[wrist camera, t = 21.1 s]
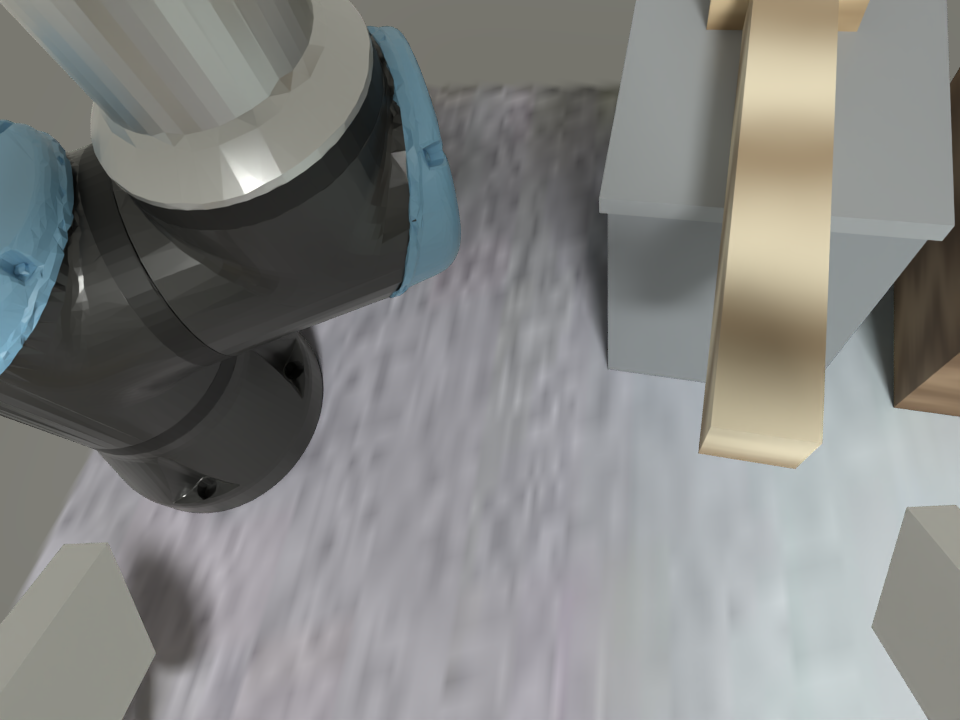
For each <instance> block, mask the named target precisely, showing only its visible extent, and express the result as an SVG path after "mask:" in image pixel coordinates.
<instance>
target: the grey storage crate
mask: <svg viewBox="0 0 960 720" xmlns="http://www.w3.org/2000/svg"><path fill="white" fill-rule="evenodd" d="M709 6H710V0H636V4H635V9H634V14H633V19H632V26H631V30H630V36H629V41H628V46H627V51H626V57H625V62H624V67H623V73H622V78H621V84H620V89H619V94H618V100H617V105H616V110H615V116H614V121H613V126H612V132H611V137H610V142H609V148H608V153H607V158H606V164H605V169H604V174H603V180H602V185H601V190H600V196H599V213H606V214H608V369H611V370H618V371H625V372H633V373H640V374H647V375H654V376H662V377H669V378H676V379H683V380H690V381H698V382H705V383H706V375H707V366H708V356H709V347H710V337H711V328H712V318H713V309H714V299H715V289H716V280H717V270H718V261H719V251H720V242H721V232H722V222H723V213H724V203H725V194H726V184H727V175H728V165H729V155H730V146H731V136H732V127H733V117H734V108H735V98H736V89H737V79H738V69H739V60H740V50H741V41H742V31H743V30H706V29H707V21H708V13H709ZM947 20H948V18H947V0H870V1H869V3H868V6H867V8H866V11H865V13H864V16H863V18H862V21H861V23H860V26H859V28H858V30H857V32H843V31H838V40H837V66H836V93H835V119H834V146H833V172H832V199H831V225H830V252H829V278H828V305H827V331H826V358H825V369H826V368H827V367H828V365H829V364H830V363H831V362H832V360H833V359H834V358H835V357H836V355H837V354H838V353H839V352H840V350H841V349H842V348H843V346H844V345H845V344H846V343H847V341H848V340H849V339H850V338H851V336H852V335H853V334H854V333H855V331H856V330H857V329H858V327H859V326H860V325H861V324H862V322H863V321H864V320H865V319H866V317H867V316H868V315H869V314H870V312H871V311H872V310H873V308H874V307H875V306H876V305H877V303H878V302H879V301H880V300H881V298H882V297H883V296H884V295H885V293H886V292H887V291H888V289H889V288H890V287H891V286H892V284H893V283H894V282H895V281H896V279H897V278H898V277H899V276H900V274H901V273H902V272H903V271H904V269H905V268H906V267H907V265H908V264H909V263H910V262H911V260H912V259H913V258H914V257H915V255H916V254H917V253H918V252H919V250H920V249H921V248H922V246H923V245H924V244H925V243H926V241H927V240H935V241H943V239H944V238H945V237H946V236H947V235H948V233H949V232H950V231H951V230H952V228H953V227H954V226H955V217H954V188H953V160H952V132H951V103H950V75H949V47H948V21H947Z"/></svg>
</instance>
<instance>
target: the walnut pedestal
mask: <svg viewBox="0 0 960 720" xmlns="http://www.w3.org/2000/svg"><path fill="white" fill-rule="evenodd" d="M950 103H951V132H952V160H953V188H954V217H955V226H954V227H953V228H952V230H951V231H950V232H949V233H948V235H947V236H946V237H945V238H944V239H943V241H935V240H927V241H926V243H925V244H924V245H923V246H922V248H921V249H920V250H919V252H918V253H917V254H916V255H915V257H914V258H913V259H912V260H911V262H910V263H909V264H908V265H907V267H906V268H905V269H904V271H903V272H902V273H901V274H900V276H899V277H898V278H897V279H896V281H895V282H894V408H902V409H909V410H916V411H923V412H931V413H938V414H945V415H952V416H960V68H959V70H958V72H957V73H956V75H955V77H954V78H953V80H952V81H951V83H950Z"/></svg>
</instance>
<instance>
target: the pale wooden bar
mask: <svg viewBox="0 0 960 720" xmlns="http://www.w3.org/2000/svg"><path fill="white" fill-rule="evenodd" d="M869 1H870V0H710V6H709V13H708V21H707V29H706V30H743V31H742V41H741V50H740V60H739V69H738V79H737V89H736V98H735V108H734V117H733V127H732V136H731V146H730V155H729V165H728V175H727V184H726V194H725V203H724V213H723V222H722V232H721V242H720V251H719V261H718V270H717V280H716V289H715V299H714V309H713V318H712V328H711V337H710V347H709V356H708V366H707V375H706V385H705V395H704V404H703V414H702V423H701V433H700V442H699V452H698V453H700V454H706V455H712V456H718V457H725V458H731V459H737V460H743V461H750V462H756V463H762V464H768V465H774V466H781V467H787V468H793V469H796V468H797V467H798V466H799V465H800V464H801V463H802V462H803V461H804V460H805V459H806V458H807V457H808V456H809V455H811V454H812V453H813V452H814V451H815V450H816V449H817V448H818V447H819V446H820V445H821V444H822V437H823V411H824V384H825V358H826V331H827V305H828V278H829V252H830V225H831V199H832V172H833V146H834V119H835V93H836V66H837V40H838V31H843V32H857V30H858V28H859V26H860V23H861V21H862V18H863V16H864V13H865V11H866V8H867V6H868V3H869Z"/></svg>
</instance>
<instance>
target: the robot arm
mask: <svg viewBox="0 0 960 720" xmlns="http://www.w3.org/2000/svg"><path fill="white" fill-rule="evenodd" d="M0 3H1V4H2V5H3V6H4V7H5V8H6V9H7V11H9V13H11V15H12V16H13V17H14V18H15V19H16V20H17V21H18V22H19V23H20V24H21V25H22V26H23V27H24V28H25V29H26V30H27V32H28V33H29V34H30V35H31V36H32V37H33V38H34V39H35V40H36V41H37V42H38V43H39V44H40V45H41V46H42V47H43V48H44V49H45V50H46V51H47V53H48V54H49V55H50V56H51V57H52V58H53V59H54V60H55V61H56V62H57V63H58V64H59V65H60V66H61V67H62V68H63V69H64V70H65V71H66V73H67V74H68V75H69V76H70V77H71V78H72V79H73V80H74V81H75V82H76V83H77V84H78V85H79V86H80V87H81V88H82V89H83V90H84V92H86V94H87V95H88V96H89V97H90V98H91V99H92V100H93V106H92V112H91V122H90V127H91V140H92V144H90V145H87V146H85V147H82V148H80V149H77V150H74V151H70V152H65V150H64V149H63V148H62V147H61V145H60V144H59V142H58V141H57V140H56V139H54V138H53V137H52V136H51V135H49V134H48V133H45V132H42V131H37V130H35V129H34V128H32V127H31V126H29V125H26V124H20V123H13V122H11V121H8V120H0V415H1V416H4V417H6V418H9V419H12V420H15V421H18V422H20V423H23V424H26V425H29V426H32V427H34V428H37V429H40V430H43V431H46V432H48V433H51V434H54V435H57V436H59V437H62V438H65V439H68V440H71V441H73V442H76V443H79V444H82V445H84V446H87V447H90V448H93V449H95V450H97V451H98V452H99V453H100V454H101V456H102V457H103V458H104V459H105V460H106V461H107V462H108V463H109V464H110V466H111V467H112V468H113V469H114V470H115V471H116V472H117V473H118V474H119V476H120V477H121V478H122V479H123V480H124V481H125V482H126V483H127V484H128V485H129V486H130V487H131V488H132V489H133V490H135V491H136V492H138V493H139V494H140V495H142V496H144V497H145V498H147V499H149V500H151V501H153V502H156V503H159V504H161V505H165V506H168V507H171V508H174V509H177V510H181V511H185V512H191V513H213V512H220V511H225V510H229V509H232V508H235V507H238V506H241V505H243V504H245V503H248V502H250V501H252V500H254V499H255V498H257V497H259V496H261V495H262V494H264V493H265V492H267V491H268V490H269V489H271V488H272V487H273V486H275V485H276V484H277V483H278V482H279V481H280V480H281V479H282V478H283V477H284V476H285V475H286V474H287V473H288V472H289V471H290V470H291V469H292V468H293V467H294V465H295V464H296V463H297V461H298V460H299V459H300V457H301V456H302V454H303V453H304V451H305V450H306V448H307V446H308V444H309V442H310V440H311V438H312V436H313V434H314V431H315V429H316V426H317V423H318V419H319V415H320V411H321V405H322V393H323V388H322V377H321V372H320V367H319V364H318V361H317V358H316V356H315V354H314V352H313V350H312V348H311V347H310V345H309V344H308V342H307V341H306V339H305V338H304V337H303V336H302V335H301V334H300V333H299V332H298V331H300V330H303V329H306V328H308V327H311V326H313V325H316V324H319V323H321V322H324V321H327V320H329V319H332V318H335V317H337V316H340V315H343V314H345V313H348V312H351V311H353V310H356V309H359V308H361V307H364V306H367V305H369V304H372V303H375V302H377V301H380V300H383V299H385V298H388V297H390V298H393V297H396V296H400V295H401V294H402V293H404V292H405V291H406V290H407V289H408V288H409V287H410V286H413V285H415V284H417V283H419V282H421V281H424V280H426V279H428V278H430V277H432V276H435V275H437V274H439V273H441V272H442V271H444V270H445V269H447V268H448V267H449V266H450V265H451V264H452V262H453V261H454V260H455V258H456V256H457V254H458V251H459V247H460V241H461V226H460V217H459V209H458V204H457V198H456V193H455V188H454V183H453V179H452V175H451V171H450V167H449V163H448V160H447V158H446V155H445V153H444V152H443V150H442V146H443V144H442V140H441V136H440V131H439V126H438V121H437V118H436V114H435V111H434V108H433V105H432V102H431V99H430V96H429V93H428V90H427V87H426V84H425V81H424V78H423V76H422V73H421V70H420V68H419V65H418V63H417V60H416V58H415V56H414V54H413V52H412V50H411V48H410V45H409V43H408V42H407V40H406V38H405V37H404V35H403V34H402V33H401V32H400V31H399V30H398V29H396V28H394V27H389V26H382V27H379V28H378V27H373V26H366V24H365V22H364V20H363V18H362V16H361V14H360V13H359V12H358V10H357V9H356V8H355V6H354V5H353V4H352V3H351V2H350V1H349V0H0ZM872 629H873V631H874V632H875V634H876V635H877V637H878V639H879V640H880V642H881V643H882V645H883V647H884V648H885V650H886V652H887V653H888V655H889V656H890V658H891V660H892V661H893V663H894V665H895V666H896V668H897V669H898V671H899V673H900V674H901V676H902V678H903V679H904V681H905V682H906V684H907V686H908V687H909V689H910V691H911V692H912V694H913V695H914V697H915V699H916V700H917V702H918V703H919V705H920V707H921V708H922V710H923V712H924V713H925V715H926V716H927V718H928V720H960V509H959V508H958V507H957V506H956V505H946V506H924V507H907V508H906V511H905V515H904V518H903V522H902V525H901V528H900V532H899V535H898V539H897V542H896V545H895V549H894V552H893V556H892V559H891V562H890V566H889V569H888V573H887V576H886V579H885V583H884V586H883V590H882V593H881V596H880V600H879V603H878V607H877V610H876V613H875V617H874V620H873V624H872ZM155 655H156V652H155V650H154V648H153V645H152V643H151V641H150V638H149V636H148V634H147V631H146V629H145V627H144V624H143V622H142V620H141V618H140V615H139V613H138V611H137V608H136V606H135V604H134V601H133V599H132V597H131V595H130V592H129V590H128V588H127V585H126V583H125V581H124V578H123V576H122V574H121V572H120V569H119V567H118V565H117V562H116V560H115V558H114V555H113V553H112V551H111V548H110V546H109V544H108V543H86V544H64V545H63V546H62V547H61V549H60V550H59V551H58V552H57V554H56V555H55V556H54V557H53V559H52V560H51V561H50V563H49V564H48V565H47V566H46V568H45V569H44V570H43V571H42V573H41V574H40V575H39V576H38V578H37V579H36V580H35V581H34V583H33V584H32V585H31V587H30V588H29V589H28V590H27V592H26V593H25V594H24V595H23V597H22V598H21V599H20V600H19V602H18V603H17V604H16V605H15V607H14V608H13V609H12V610H11V612H10V613H9V614H8V616H7V617H6V618H5V619H4V621H3V622H2V623H1V624H0V720H122V719H123V717H124V715H125V713H126V711H127V709H128V707H129V705H130V703H131V701H132V699H133V697H134V695H135V693H136V692H137V690H138V688H139V686H140V684H141V682H142V680H143V678H144V676H145V674H146V672H147V670H148V668H149V666H150V664H151V662H152V660H153V659H154V657H155Z"/></svg>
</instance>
